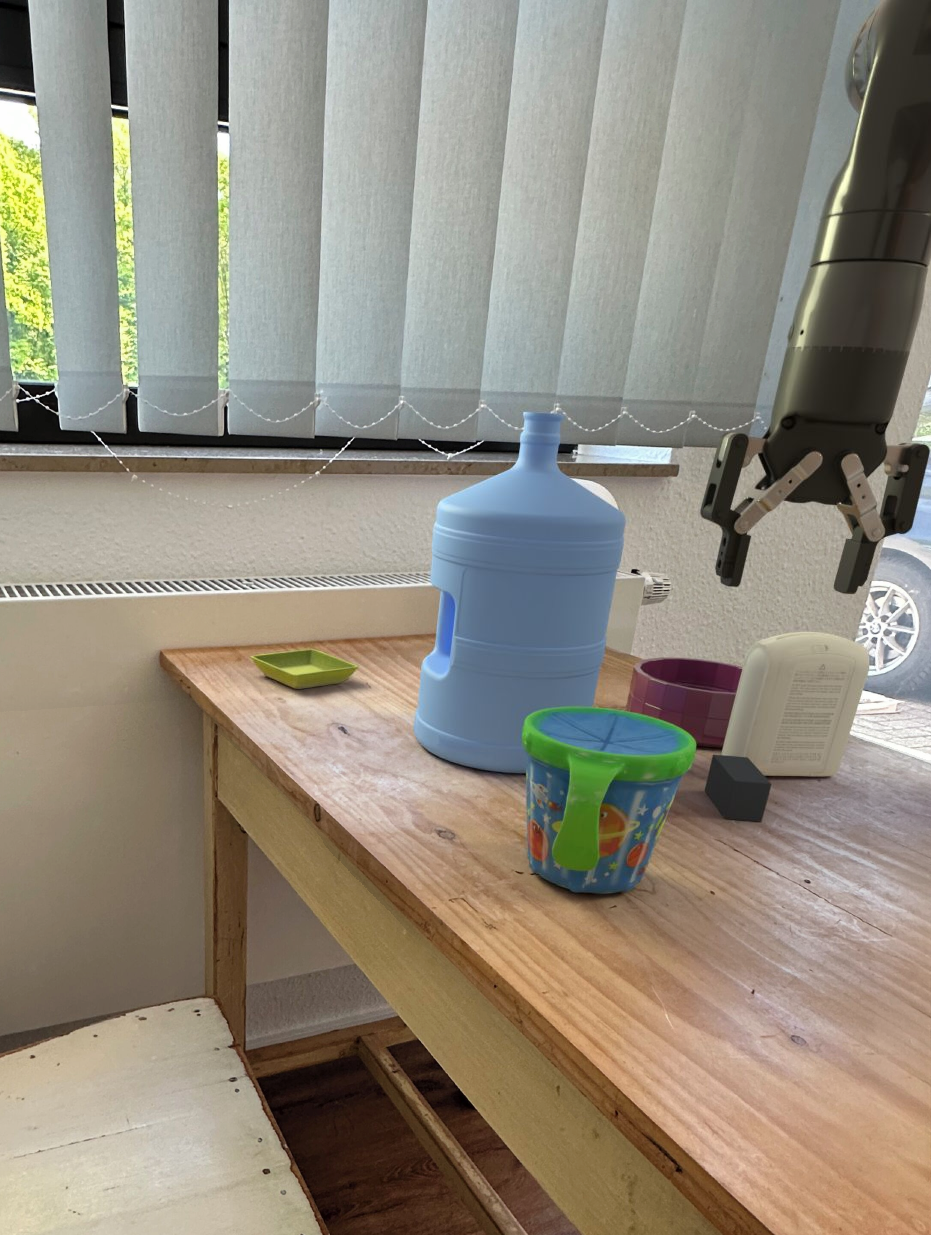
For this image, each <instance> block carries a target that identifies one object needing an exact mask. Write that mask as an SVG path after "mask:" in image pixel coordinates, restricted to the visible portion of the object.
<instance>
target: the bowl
mask: <svg viewBox="0 0 931 1235" xmlns="http://www.w3.org/2000/svg"><path fill="white" fill-rule="evenodd" d="M742 669H743V666H740V665H735V664H731V663H726V662H721V661H715V660H708V659H701V658H691V657H690V658H689V657H653V658H645V659H642V660H639V661H637V662H635V664H634V666H633V670H632V674H631V680H630V685H629V691H628V696H627V702H626V706H625V711H628V712H633V713H638V714H642V715H646V716H649V717H653V718H656V719H660V720H663V721H665V722H668V723H671V724H673V725H675V726H677V727H679V728H681V729H683V730H685V731H686V732H688V733H689V734H690V735H691V736H692V737H693V738H694V739H695V742H696V747H704V748H722V749H723V746H724V741H725V737H726V733H727V729H728V725H729V721H730V717H731V713H732V709H733V705H734V701H735V697H736V693H737V689H738V685H739V681H740V677H741V673H742Z"/></svg>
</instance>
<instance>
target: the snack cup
mask: <svg viewBox="0 0 931 1235" xmlns="http://www.w3.org/2000/svg"><path fill="white" fill-rule="evenodd" d="M522 743H523V746H524V748H525V751H526V755H527V761H526V762H527V764H526V766H527V769H526V773H525V796H526V797H525V798H526V799H525V805H526V806H525V812H526V822H525V823H526V844H527V846H526V855H527V859H528V866H529V868H530V869H531V871H532V873H533V874H538V875H539V876H540V877H541V878H543V879H545V880H546V881H548V882H549V883H552V884H554V885H556V886H559V887H561V888H565V889H568V890H570V892H573V893H587V894H589V893H591V894H595V895H605V894H614V893H618V892H626V893H627V892H631V890H633V889H634V888H635V887H636V885H637V884H639V883H640V882H641V881H642V878H643V876H644V875H645V873H646V870H647V868H648V866H649V864H650V861H651V859H652V857H653V853H654V851H655V849H656V845H657V842H658V841H659V839H660V836H661V833H662V831H663V828H664V825H665V823H666V820H667V819H668V818H667V817H668V815H669V812H670V810H671V807H672V805H673V803H674V799H675V797H676V793H677V791H678V788H679V785H680V783H681V780H682V778H683V777H684V776H685V775H686V773H687V772H689V771H690V770H691V768H692V766H693V764H694V761H695V756H696V751H697V746H696V742H695V739H694V738H693V737H692V736H691V735H690V734H689V733H688V732H686V731H685V730H683V729H681V728H679V727H677V726H675V725H673V724H671V723H668V722H665V721H663V720H660V719H656V718H653V717H649V716H646V715H642V714H638V713H633V712H628V711H626V710H620V709H614V708H607V707H597V706H596V707H594V706H593V707H577V706H574V707H557V708H548V709H543V710H539V711H536V712H534V713H532V714H530V715H529V716H527V717H526V719H525V722H524V726H523V731H522Z"/></svg>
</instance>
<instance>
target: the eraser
mask: <svg viewBox="0 0 931 1235" xmlns="http://www.w3.org/2000/svg"><path fill="white" fill-rule="evenodd" d="M706 778H707V779H706V783H705V787H704V791H705V793H706V795H707V796H708V797H709V798H710V800H711V802H712V803H713V804H714V805H715V807H716V808H717V810H718V811H719V813H720V814H721V815H722V817H723V818H724V819H725V820H734V821H735V820H736V821H747V822H748V821H749V822H759V823H762V821H763V818H764V814H765V811H766V807H767V803H768V799H769V796H770V791H771V788H772V783H771V781H770V780H769V779H768V778H767V776H764V775H763V774H762V773H761V772H760V771H759V769H758V768H757V767H756V766H755V765H754V764H753V763H752V762H751V761H750V759H749V758H748V757H737V756H725V755H722V754H713V755H712V756H711V761H710V766H709V770H708V775H707V777H706Z"/></svg>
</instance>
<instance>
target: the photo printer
mask: <svg viewBox="0 0 931 1235" xmlns="http://www.w3.org/2000/svg"><path fill="white" fill-rule="evenodd" d="M869 654H870V653H869V651H868V648H867V647H865V645H862V644H861V643H859V642H856V641H854V640H851V639H849V638H845V637H843V636H840V635H835V634H832V633H826V632H821V631H820V632H817V631H796V632H788V633H781V634H778V635H773V636H770V637H766V638H763V639H760V640H757V641H755V642H754V643H752V645H751V646H750V648H749V649H748V651H747V652H746V655H745V658H744V661H743V666H742V667H743V669H742V673H741V677H740V681H739V685H738V689H737V693H736V697H735V701H734V705H733V709H732V713H731V717H730V721H729V725H728V729H727V733H726V737H725V741H724V746H723V748H722V749H721V755H725V756H737V757H748V758H749V759H750V761H751V762H752V763H753V764H754V765H755V766H756V767H757V768H758V769H759V771H760V772H761V773H762V774H763V775H764V776H765V777H767V776H769V777H770V776H771V777H833V776H836V775H837V774H838V772H839V770H840V767H841V764H842V761H843V757H844V754H845V751H846V748H847V743H848V741H849V738H850V734H851V730H852V728H853V724H854V720H855V717H856V714H857V711H858V707H859V705H860V701H861V698H862V694H863V690H864V688H865V684H866V682H867V678H868V675H869V671H870V666H871V665H870V663H871V662H870V661H871V660H870V655H869Z"/></svg>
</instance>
